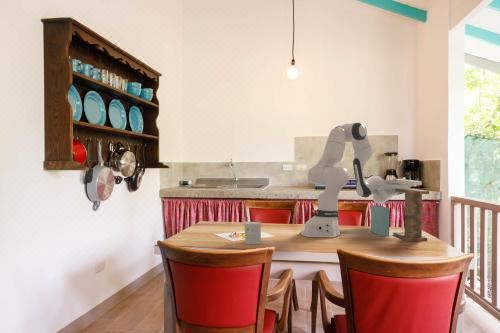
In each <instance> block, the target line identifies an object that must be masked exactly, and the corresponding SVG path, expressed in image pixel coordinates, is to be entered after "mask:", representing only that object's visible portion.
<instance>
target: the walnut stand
mask: <svg viewBox="0 0 500 333" xmlns="http://www.w3.org/2000/svg"><path fill="white" fill-rule="evenodd" d="M395 191H396V192H401V193H403V194H404V231H403V232H402V231H400V232H396V231H395V232H393V234H392V235H393V236H395V237H397V238H399V239H401V240H404V241H406V242H423V241H424V242H427V241H428V237H426V236H423V235H422V234H423V233H422V232H423V231H422V230H423V229H422V228H423V226H422V225H423V195H429V194H430V191H429V190H424V189H416V188H409V189H395Z"/></svg>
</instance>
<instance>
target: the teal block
mask: <svg viewBox="0 0 500 333" xmlns="http://www.w3.org/2000/svg"><path fill="white" fill-rule="evenodd" d="M370 232H372V233H375V235H378V236H380V237H382V236H383V237H385V236H390V208H389V207H386V206H382V205H381V204H380V205H377V204H376V205H370Z"/></svg>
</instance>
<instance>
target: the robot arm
mask: <svg viewBox="0 0 500 333" xmlns="http://www.w3.org/2000/svg"><path fill="white" fill-rule="evenodd" d="M346 143H351V146H352V149H353V151H354V155H353V156H354V158H353V160H352V168H353V173H354V178H355V179H354V180H355V190H356V193H357V195H358V196H360V197H361V198H369V197H370V196H372V200H373V202H375V203H376V204H380V205H381V204H384V203H386V202H388V201H389V200H390V198H392V197H393V196H397V195H398V196H399V195H403V194H404V193H401V192H396V191H395V189H411V187H413V185H409V184H401V183H393V182H396V181H397V179H398V178H397V177H392V178H391V179H384V178H382V177H381V176H380V175H377V174H374V175H371V176H370V177H368V178H366V179H365V174H364V172H365V171H364V168H365V165H366V164H367V162H369V160H370V159H371V158H372V157H373V153H374V150H373V145H372V142H371V140H370V137H369V135H368V133H367V127H366V125H365V124H363V123H362V122H354V123H351V122H350V123H346V124H345V123H343V124H341V125H337V126H335V127H333V128H332V129H331V130H330V132H329V134H328V137H327V139H326V143H325V147H324V150H323V153H322V156H321V157H320V159H319V160H318V161H317V163H316V164H315V165H314V166H312V167H311V168H310V169H308V172H307V179H308V181H309V183H311V184H314V185H317V186H325V189H324V191H322V192H320V194H318V196H317V209H312V213H313V214H314V216H312V217H310V219H308V220H307V221H305V224H304V226H303V227H304V228H303V230H300V235H302V236H304V237H307V238H336V237H339V236H341V233H340V232H341V231H340V229H339V228H340V227H339V221H338V220H339V209H338V205H339V203H338V201H339V194H340V192H341V191H342V189H343V188H344V186H346V185H347V184H348V183H349V181H350V172H349V170H347V168H345V167H341V166H340V167H339V166H335V165H337V164H338V163H340V162H341V161H342V160H343V157H344V153H345V149H346V148H345V147H346V145H347V144H346ZM401 179H403V180H407V179H406V177H402V178H401Z"/></svg>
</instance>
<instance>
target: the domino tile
mask: <svg viewBox="0 0 500 333" xmlns="http://www.w3.org/2000/svg"><path fill="white" fill-rule="evenodd" d="M396 179H397V181H396V182H393V183H401V184H409V185H412V186H422V183H423V182H422V180H412V179H406V180H403V179H402V178H396Z"/></svg>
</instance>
